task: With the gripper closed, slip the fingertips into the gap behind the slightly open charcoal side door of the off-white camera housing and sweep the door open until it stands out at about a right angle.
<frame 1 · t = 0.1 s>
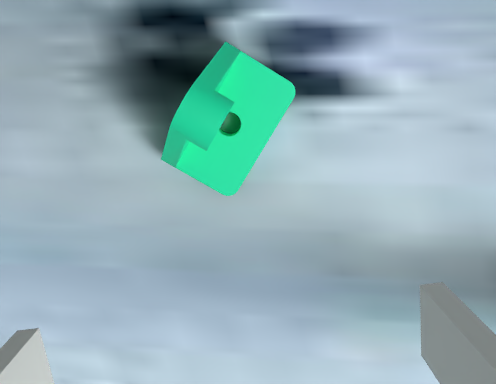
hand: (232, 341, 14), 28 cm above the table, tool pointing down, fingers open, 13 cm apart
camera mount: (230, 121, 41), on the table
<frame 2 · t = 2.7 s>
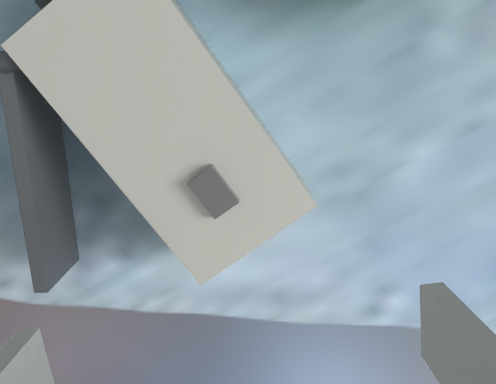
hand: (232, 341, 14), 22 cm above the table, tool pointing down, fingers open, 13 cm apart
side door: (40, 172, 32), point 4 cm above the table, hinge at 35.0°
camera housing: (185, 118, 35), on the table
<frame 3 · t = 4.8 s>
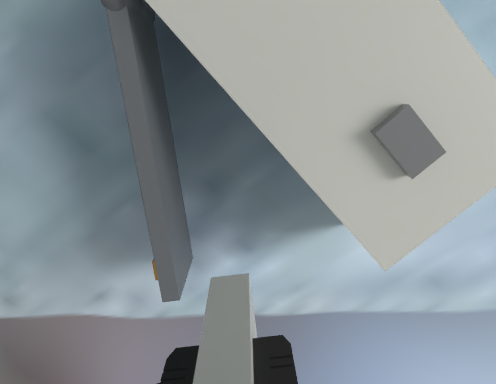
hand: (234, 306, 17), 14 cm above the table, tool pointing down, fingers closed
side door: (152, 147, 25), point 4 cm above the table, hinge at 35.0°
camera housing: (315, 67, 27), on the table
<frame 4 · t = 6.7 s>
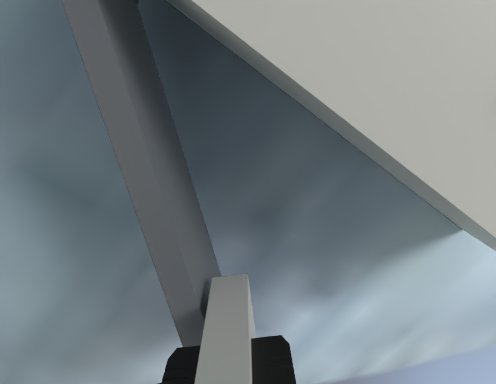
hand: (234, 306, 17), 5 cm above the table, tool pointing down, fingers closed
side door: (162, 189, 16), point 4 cm above the table, hinge at 38.6°, touching gripper
camera housing: (379, 21, 19), on the table
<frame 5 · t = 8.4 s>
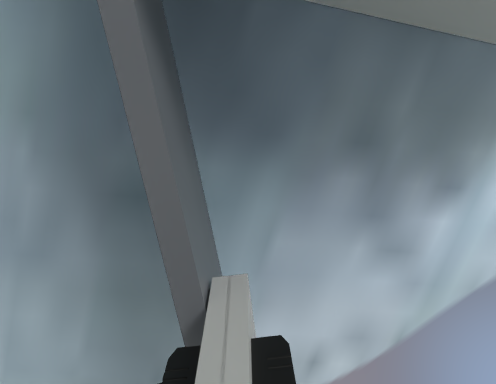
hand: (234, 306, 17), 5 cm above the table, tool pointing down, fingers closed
side door: (173, 183, 16), point 4 cm above the table, hinge at 67.9°, touching gripper
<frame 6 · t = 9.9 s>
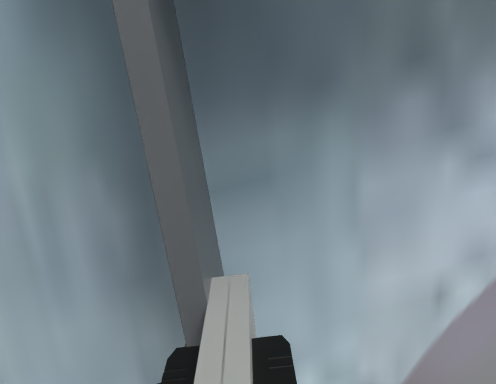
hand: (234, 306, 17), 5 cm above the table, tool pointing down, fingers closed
side door: (178, 181, 16), point 4 cm above the table, hinge at 90.0°, touching gripper
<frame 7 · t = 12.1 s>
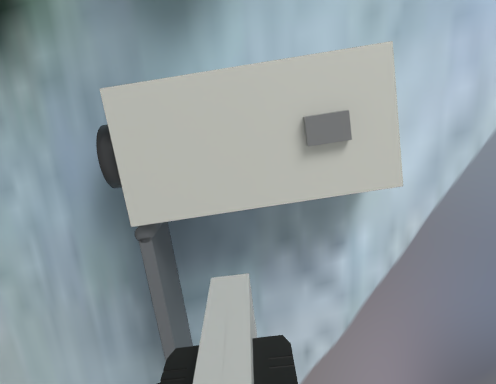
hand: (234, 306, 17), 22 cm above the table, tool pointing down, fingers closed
side door: (168, 307, 37), point 4 cm above the table, hinge at 90.1°
camera housing: (253, 129, 37), on the table
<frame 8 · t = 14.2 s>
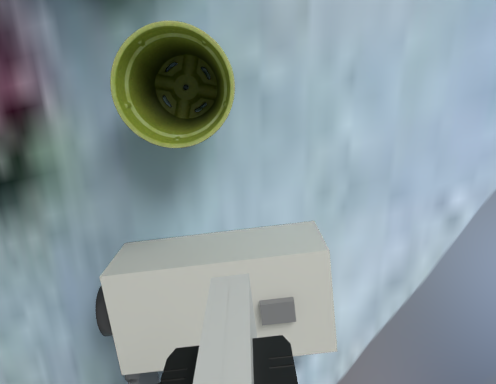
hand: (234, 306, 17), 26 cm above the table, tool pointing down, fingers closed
plant pot: (187, 86, 40), on the table
camera housing: (225, 275, 45), on the table
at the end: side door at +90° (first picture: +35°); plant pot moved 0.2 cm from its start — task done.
